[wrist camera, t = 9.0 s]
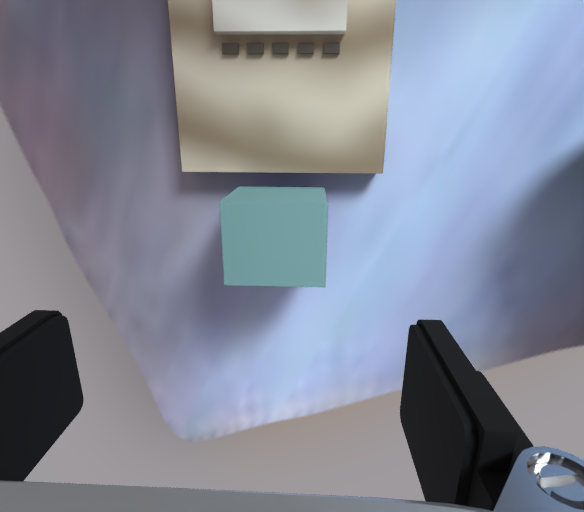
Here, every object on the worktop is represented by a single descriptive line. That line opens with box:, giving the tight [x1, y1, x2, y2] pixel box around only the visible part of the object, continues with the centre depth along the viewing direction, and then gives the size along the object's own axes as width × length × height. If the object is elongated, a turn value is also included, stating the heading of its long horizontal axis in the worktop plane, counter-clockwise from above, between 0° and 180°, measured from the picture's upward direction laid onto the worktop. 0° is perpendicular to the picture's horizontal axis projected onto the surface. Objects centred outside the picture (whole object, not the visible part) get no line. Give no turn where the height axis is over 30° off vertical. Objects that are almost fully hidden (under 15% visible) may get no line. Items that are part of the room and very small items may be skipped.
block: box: [220, 187, 328, 287], centre depth 25 cm, size 5×6×6 cm
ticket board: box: [168, 0, 396, 173], centre depth 24 cm, size 18×14×3 cm
